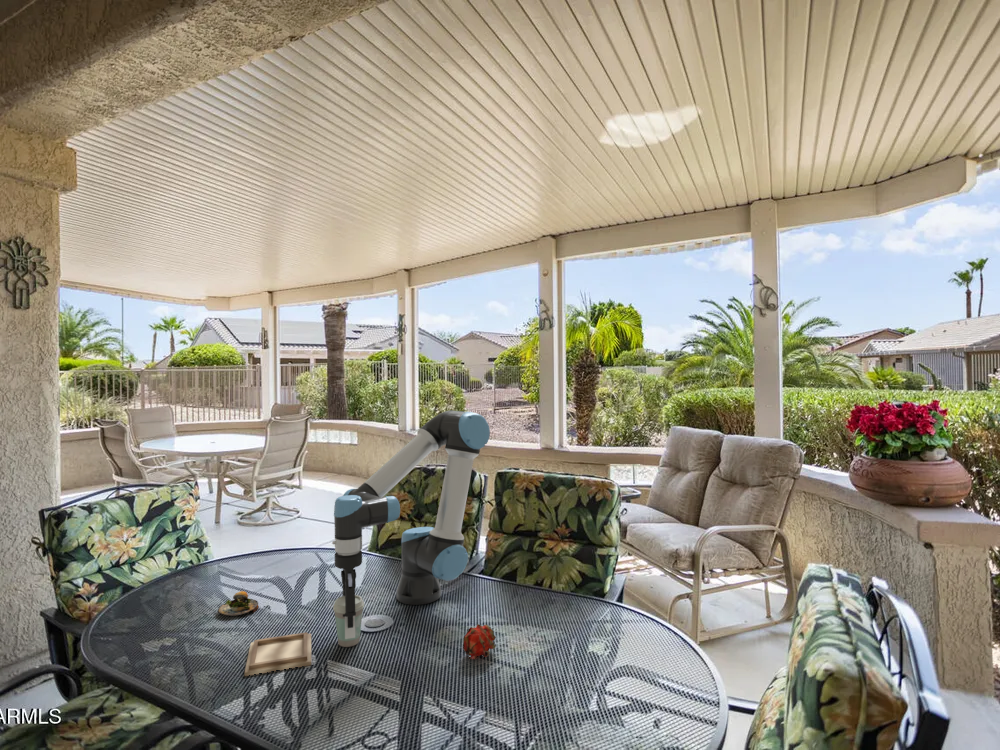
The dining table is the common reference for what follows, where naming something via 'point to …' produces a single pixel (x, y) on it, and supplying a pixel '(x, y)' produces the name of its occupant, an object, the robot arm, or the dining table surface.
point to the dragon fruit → (479, 641)
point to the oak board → (279, 653)
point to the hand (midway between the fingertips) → (348, 630)
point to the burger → (239, 605)
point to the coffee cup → (340, 621)
